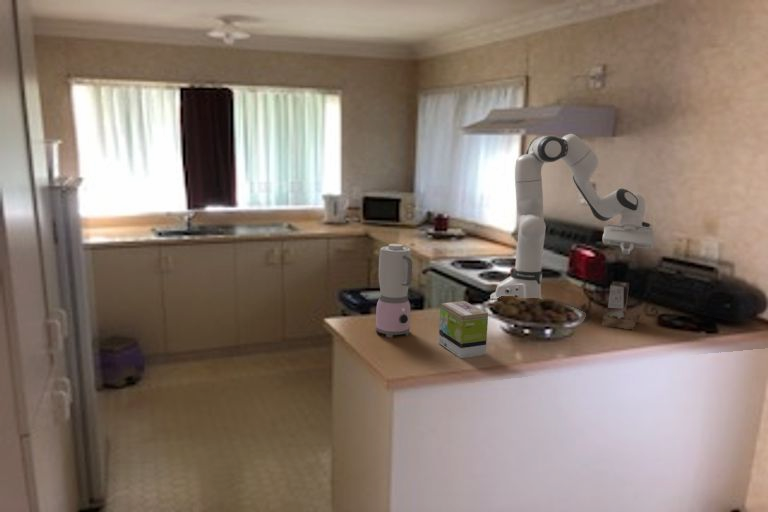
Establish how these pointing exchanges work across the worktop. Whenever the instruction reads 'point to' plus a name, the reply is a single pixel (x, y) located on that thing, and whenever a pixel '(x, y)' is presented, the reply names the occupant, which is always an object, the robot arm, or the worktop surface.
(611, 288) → the coffee box
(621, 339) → the worktop surface
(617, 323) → the wooden tray
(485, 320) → the tea box
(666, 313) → the worktop surface
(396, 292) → the blender
